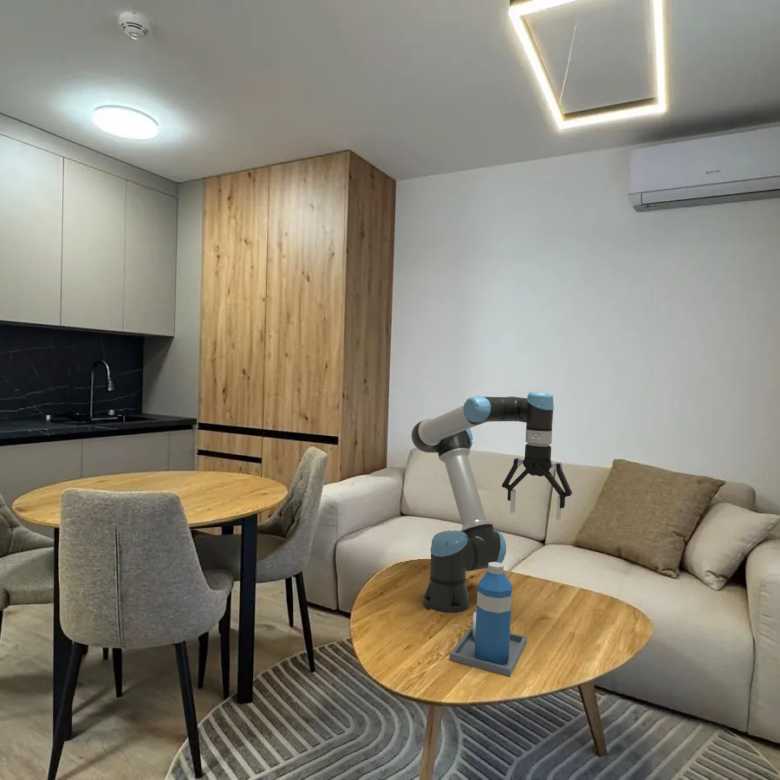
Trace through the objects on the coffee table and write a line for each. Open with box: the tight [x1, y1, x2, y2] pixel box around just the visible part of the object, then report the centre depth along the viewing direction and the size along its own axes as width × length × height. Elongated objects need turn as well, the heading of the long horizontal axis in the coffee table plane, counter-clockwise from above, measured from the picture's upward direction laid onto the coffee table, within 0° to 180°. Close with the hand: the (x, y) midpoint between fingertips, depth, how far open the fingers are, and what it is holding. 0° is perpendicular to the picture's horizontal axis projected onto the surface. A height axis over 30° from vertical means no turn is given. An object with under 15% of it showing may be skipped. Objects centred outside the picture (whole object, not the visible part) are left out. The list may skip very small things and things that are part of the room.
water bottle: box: [474, 562, 513, 665], centre depth 148 cm, size 9×9×25 cm
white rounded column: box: [472, 611, 476, 641], centre depth 158 cm, size 5×5×7 cm
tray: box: [449, 623, 528, 677], centre depth 152 cm, size 16×20×2 cm
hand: (534, 515), depth 166 cm, fingers open, 13 cm apart
